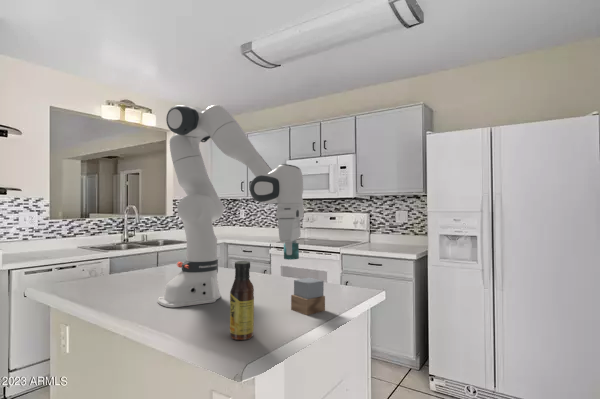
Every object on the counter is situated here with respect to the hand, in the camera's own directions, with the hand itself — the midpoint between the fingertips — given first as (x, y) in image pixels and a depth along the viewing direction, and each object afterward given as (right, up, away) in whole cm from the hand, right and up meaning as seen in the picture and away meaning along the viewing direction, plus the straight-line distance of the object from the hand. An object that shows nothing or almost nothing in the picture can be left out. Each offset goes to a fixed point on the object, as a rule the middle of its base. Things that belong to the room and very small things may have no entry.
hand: (291, 253), depth 119 cm
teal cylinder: (0, -2, 0) cm, 2 cm away
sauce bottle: (-12, -18, -26) cm, 34 cm away
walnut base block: (+6, -19, -1) cm, 20 cm away
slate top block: (+6, -14, 0) cm, 15 cm away
